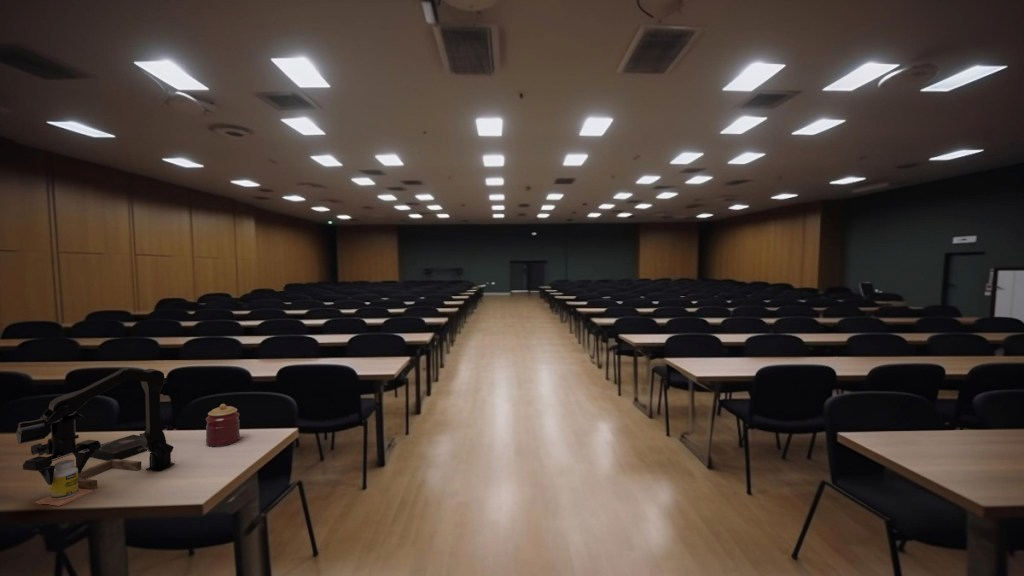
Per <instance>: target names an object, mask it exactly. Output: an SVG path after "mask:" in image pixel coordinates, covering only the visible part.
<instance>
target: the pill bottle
mask: <svg viewBox="0 0 1024 576" xmlns="http://www.w3.org/2000/svg"><path fill="white" fill-rule="evenodd" d="M74 465H75V460H74V459H65V460H61V461H58V462H56V463H54V465H53V466H55V468H54V477H53V482H52V485H50V496H51V498H52V499H54V500H59V499H65V498H68V497H71V496H73V495H75V494H76V493H77V492H78V468H77V467H76V466H74Z"/></svg>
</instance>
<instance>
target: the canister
mask: <svg viewBox="0 0 1024 576" xmlns="http://www.w3.org/2000/svg"><path fill="white" fill-rule="evenodd" d="M237 411H238V408H236V407H234V406H231V405H229V406H228V405H227V404H225V403H221V404H220V405H219V407H216V408H213V409H212V410H211V411H210V410H209V412H207V415H208V416H207V417H206V418H205V421H206V426H205V428H206V430H205V437H206V438H205V443H206V446H207V445H208V446H207V447H210V446H219V447H223V446H222V445H225V446H228V445H227V444H229V445H231V444H230V443H232V444H234V443H233V442H235V443H236V441H237V440H238V439H239V440H240V436H241V433H240V422H241V420H240V419H239V417H240V413H239V412H237ZM239 440H238V441H239ZM238 441H237V442H238Z"/></svg>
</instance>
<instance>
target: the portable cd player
mask: <svg viewBox="0 0 1024 576" xmlns="http://www.w3.org/2000/svg"><path fill="white" fill-rule="evenodd" d="M139 443H140V435H138V434H131V435H128V436H127V435H126V436H124V437H120V438H117V439H114V440H111V441H107V442H105V443H100V444H101V448H99V449H97V450H94V451H95V452H94V453H92V455H91V456H90V458H92V457H93V459H97V460H102V461H105V462H106V461H108V460H111V459H120V460H126V459H127V458H128V459H129V458H130V457H134V456H136V455H140V454H142V453H145V452H148V451H147V449H145V448H144V447H142V445H141V444H139ZM139 453H140V454H139Z"/></svg>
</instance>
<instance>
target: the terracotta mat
mask: <svg viewBox="0 0 1024 576" xmlns="http://www.w3.org/2000/svg"><path fill="white" fill-rule="evenodd" d="M93 492H94V490H88V489H79V488H78V492H77V493H76V494H75V495H73V496H71V497H68V498H65V499H59V500H54V499H52V498H51V495H49V496H47V497H44V498H42V499H40V500H37V501H35V502H34V504H35V503H38V504H37V505H41V504H51V505H57V506H56V507H58V506H59V507H61V506H60V505H62V506H64V505H66V504H68V503H70V502H72V501H75V500H77V499H79V498H82V497H84V496H86V495H89V494H91V493H93Z"/></svg>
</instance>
